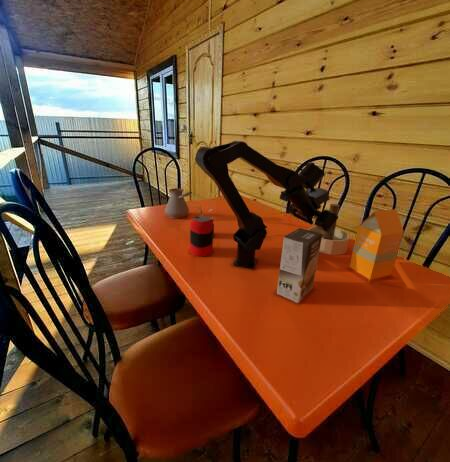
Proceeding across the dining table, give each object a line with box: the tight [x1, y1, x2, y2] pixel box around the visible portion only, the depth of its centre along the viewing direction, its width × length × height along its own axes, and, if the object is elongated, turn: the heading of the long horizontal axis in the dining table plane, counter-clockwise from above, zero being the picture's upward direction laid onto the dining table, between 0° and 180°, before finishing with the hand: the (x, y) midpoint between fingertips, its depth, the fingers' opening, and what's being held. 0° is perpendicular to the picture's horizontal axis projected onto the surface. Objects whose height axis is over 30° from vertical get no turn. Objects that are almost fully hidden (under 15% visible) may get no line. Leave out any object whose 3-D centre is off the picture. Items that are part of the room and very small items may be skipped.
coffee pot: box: [164, 187, 195, 219], centre depth 116 cm, size 21×12×15 cm, turn 34°
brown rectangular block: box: [324, 203, 340, 240], centre depth 91 cm, size 5×5×16 cm
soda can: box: [189, 215, 214, 257], centre depth 85 cm, size 8×8×12 cm
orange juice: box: [349, 208, 405, 283], centre depth 74 cm, size 8×9×20 cm
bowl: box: [307, 225, 351, 256], centre depth 92 cm, size 14×14×6 cm
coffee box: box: [276, 227, 322, 304], centre depth 64 cm, size 9×6×16 cm
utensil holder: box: [197, 204, 215, 236], centre depth 99 cm, size 6×6×12 cm
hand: (321, 227), depth 89 cm, fingers open, 9 cm apart
